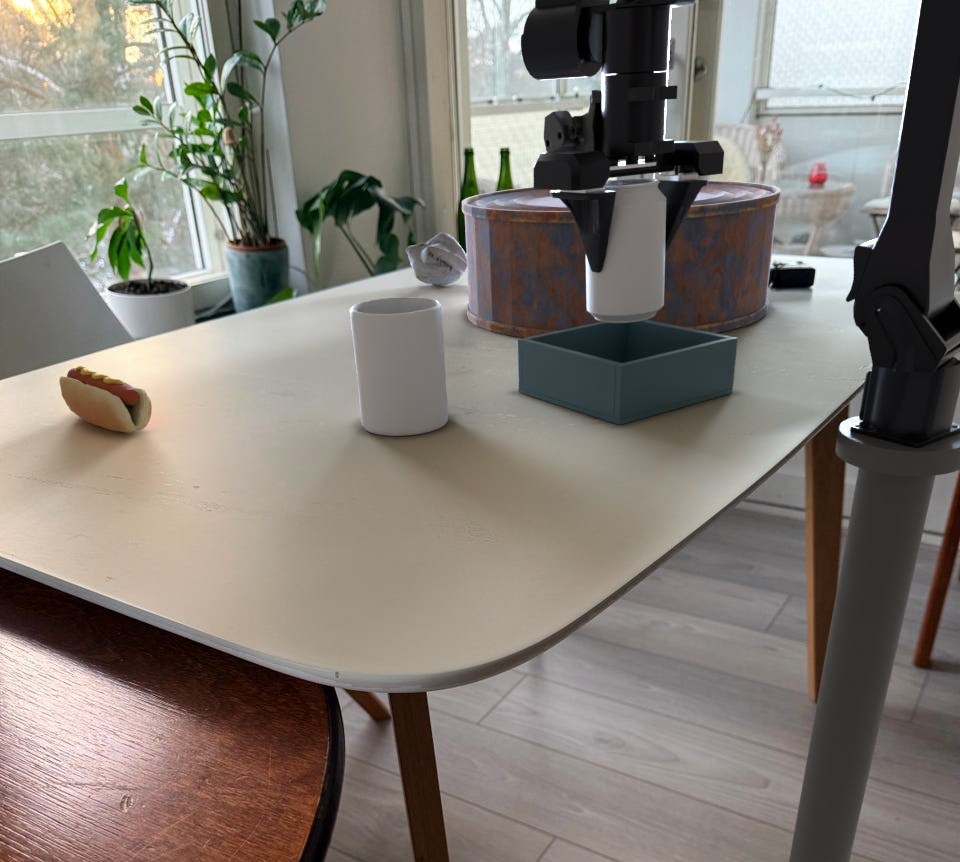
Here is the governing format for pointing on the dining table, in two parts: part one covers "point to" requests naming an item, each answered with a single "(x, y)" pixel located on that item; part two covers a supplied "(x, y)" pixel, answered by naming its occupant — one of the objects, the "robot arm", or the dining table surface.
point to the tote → (626, 368)
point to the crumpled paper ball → (438, 260)
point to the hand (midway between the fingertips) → (627, 266)
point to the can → (631, 255)
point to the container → (562, 261)
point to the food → (105, 400)
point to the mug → (400, 365)
